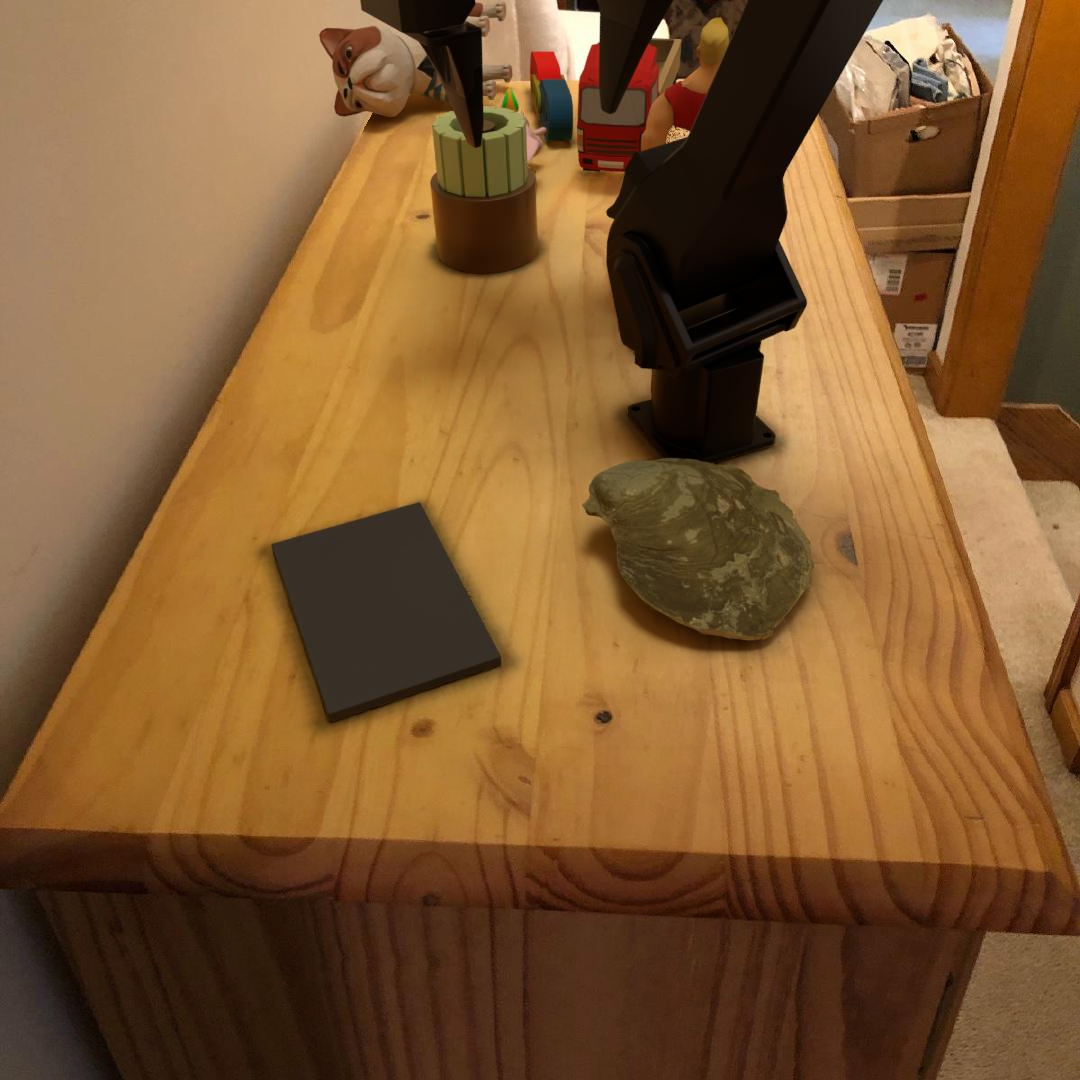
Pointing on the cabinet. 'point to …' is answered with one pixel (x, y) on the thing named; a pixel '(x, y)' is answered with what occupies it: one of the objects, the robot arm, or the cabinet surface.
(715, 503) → the seashell
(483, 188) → the ring
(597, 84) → the toy truck
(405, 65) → the figurine
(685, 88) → the action figure
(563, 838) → the cabinet surface
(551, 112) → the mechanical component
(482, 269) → the stand
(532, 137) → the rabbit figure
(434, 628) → the pad
